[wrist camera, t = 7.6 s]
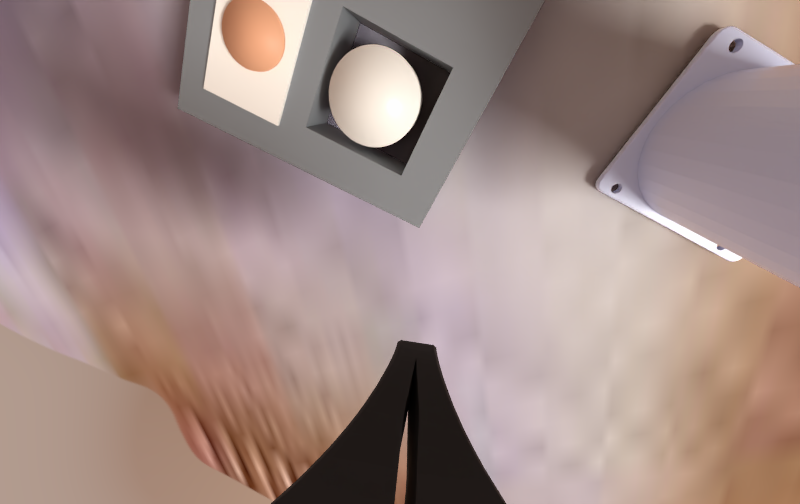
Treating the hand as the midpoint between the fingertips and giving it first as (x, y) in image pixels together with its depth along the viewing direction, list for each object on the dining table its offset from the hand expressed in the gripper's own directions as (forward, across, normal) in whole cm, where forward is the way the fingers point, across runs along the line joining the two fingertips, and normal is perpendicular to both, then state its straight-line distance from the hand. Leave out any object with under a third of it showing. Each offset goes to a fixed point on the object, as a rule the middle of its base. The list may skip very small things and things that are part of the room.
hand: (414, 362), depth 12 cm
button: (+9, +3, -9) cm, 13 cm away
